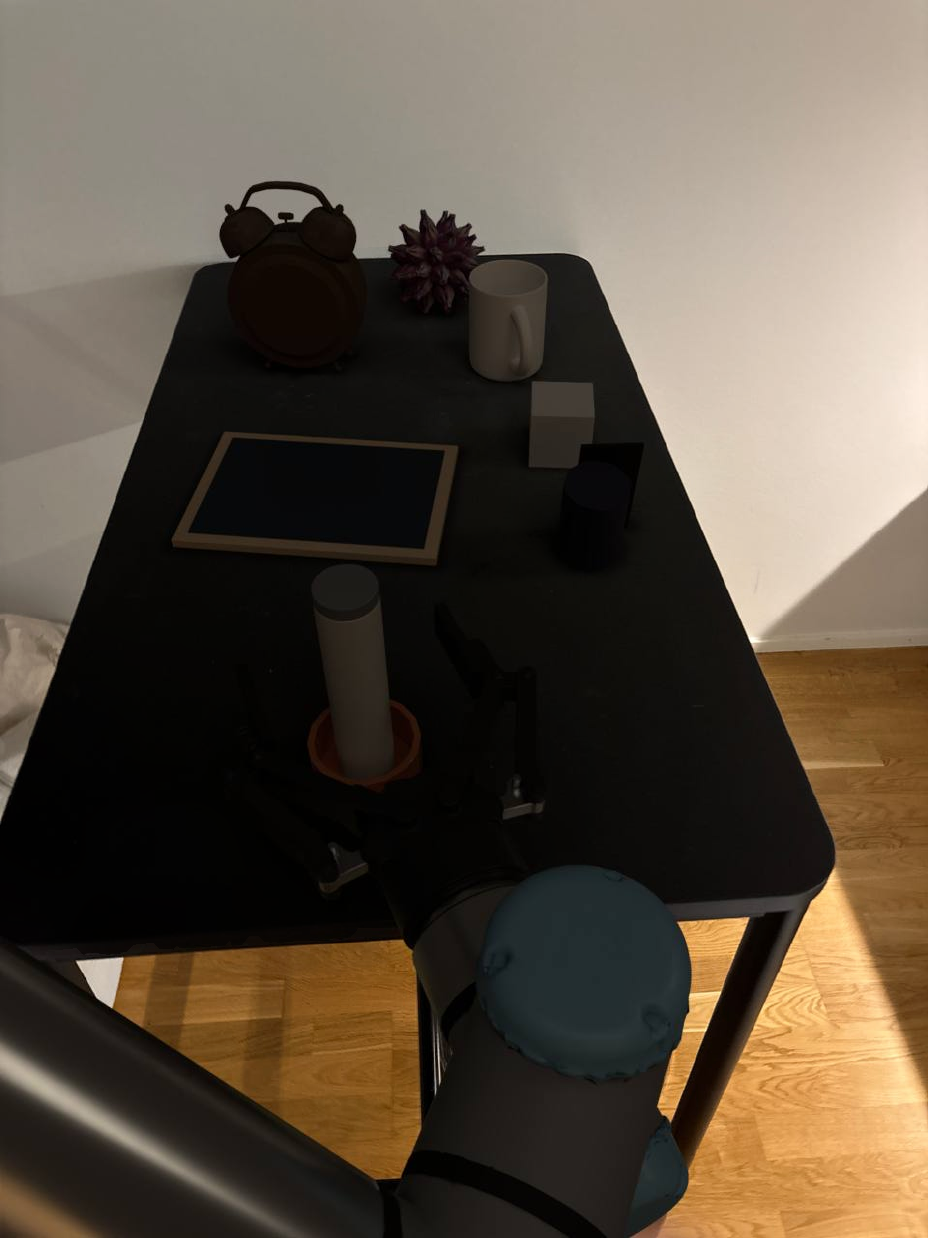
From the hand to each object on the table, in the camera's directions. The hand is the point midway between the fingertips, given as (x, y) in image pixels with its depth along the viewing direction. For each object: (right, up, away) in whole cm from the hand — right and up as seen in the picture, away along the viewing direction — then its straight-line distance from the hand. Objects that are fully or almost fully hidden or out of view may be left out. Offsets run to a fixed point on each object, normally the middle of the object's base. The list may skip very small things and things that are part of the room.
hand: (344, 647), depth 65 cm
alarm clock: (-10, +31, +46) cm, 56 cm away
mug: (+13, +29, +44) cm, 55 cm away
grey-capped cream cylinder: (+1, -9, +6) cm, 11 cm away
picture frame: (-5, +13, +29) cm, 32 cm away
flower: (+5, +40, +55) cm, 68 cm away
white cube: (+18, +19, +34) cm, 43 cm away
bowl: (+1, -9, +6) cm, 11 cm away
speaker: (+20, +8, +23) cm, 32 cm away
